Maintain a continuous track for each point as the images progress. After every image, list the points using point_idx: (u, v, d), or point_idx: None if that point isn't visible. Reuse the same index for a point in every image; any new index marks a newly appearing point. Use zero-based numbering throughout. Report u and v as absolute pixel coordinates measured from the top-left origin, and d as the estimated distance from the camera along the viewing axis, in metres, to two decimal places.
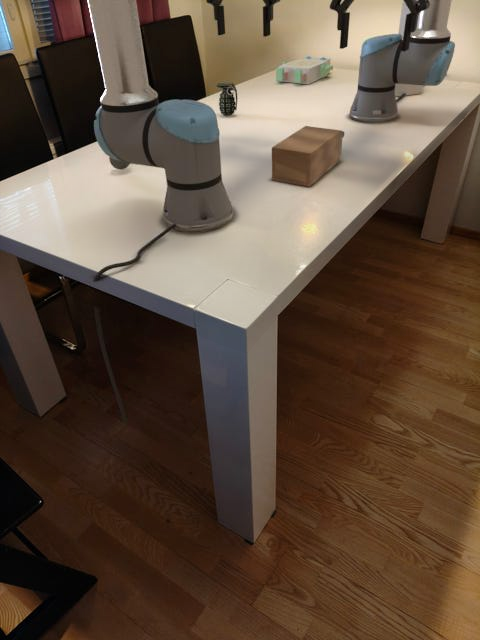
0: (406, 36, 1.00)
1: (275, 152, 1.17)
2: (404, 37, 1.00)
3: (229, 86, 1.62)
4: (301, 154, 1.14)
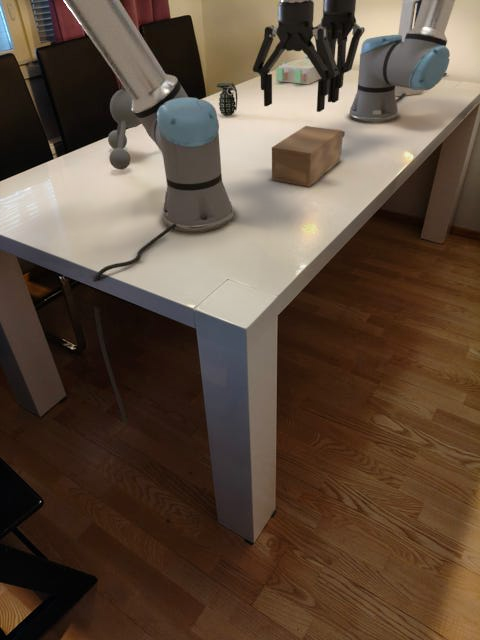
0: None
1: (275, 152, 1.17)
2: None
3: (229, 86, 1.62)
4: (301, 154, 1.14)
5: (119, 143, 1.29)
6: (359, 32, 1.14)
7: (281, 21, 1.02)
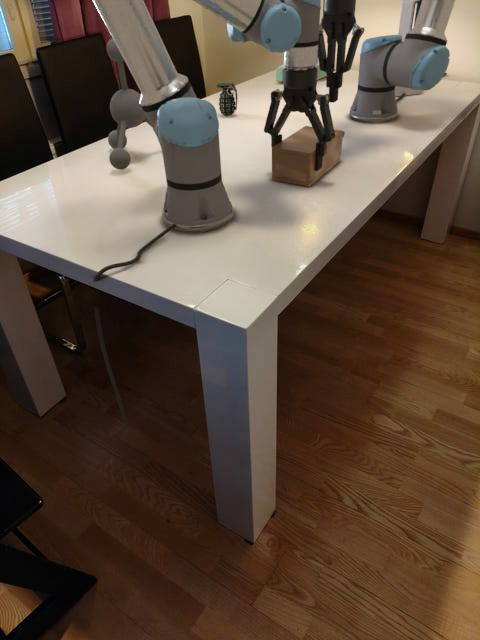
0: None
1: (275, 152, 1.17)
2: None
3: (229, 86, 1.62)
4: (301, 154, 1.14)
5: (119, 143, 1.29)
6: (359, 32, 1.14)
7: (286, 86, 1.08)
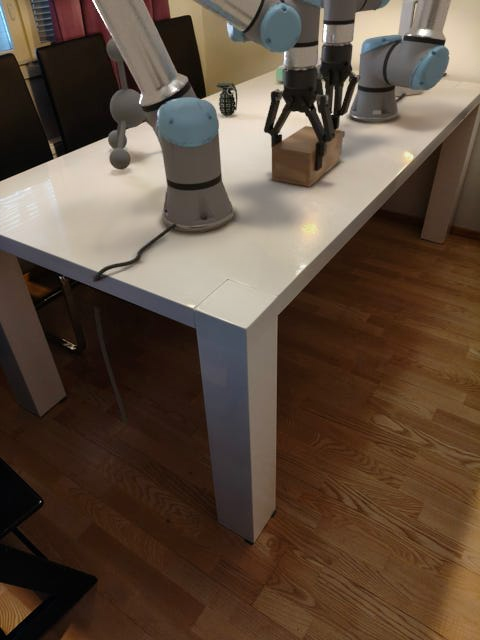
0: None
1: (275, 152, 1.17)
2: None
3: (229, 86, 1.62)
4: (301, 154, 1.14)
5: (119, 143, 1.29)
6: (355, 80, 1.21)
7: (286, 86, 1.08)
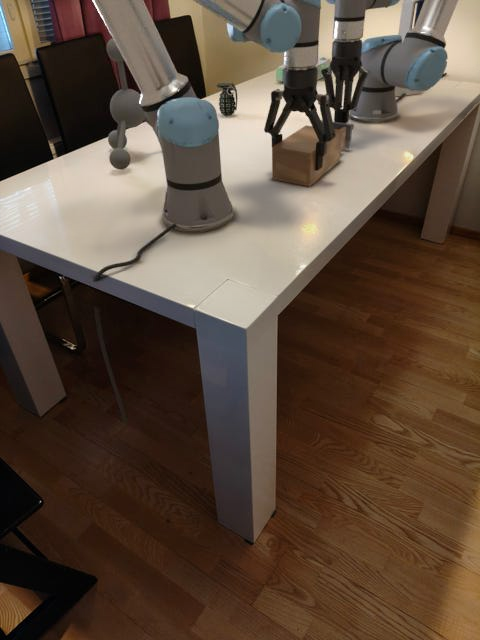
0: None
1: (275, 152, 1.18)
2: None
3: (229, 86, 1.62)
4: (301, 154, 1.14)
5: (119, 143, 1.29)
6: (365, 75, 1.25)
7: (286, 86, 1.08)
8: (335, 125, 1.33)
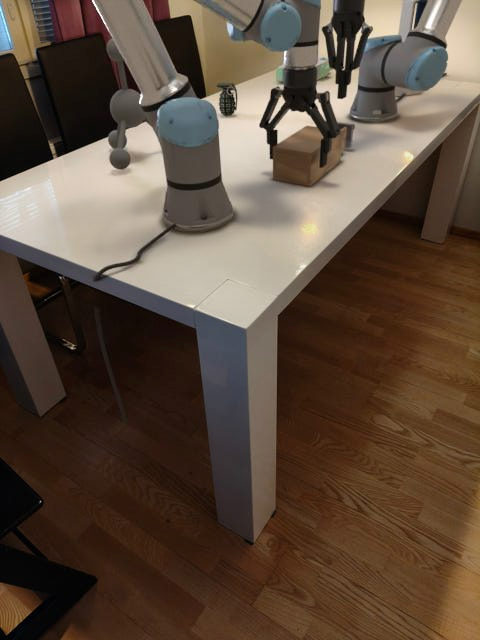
0: None
1: (276, 152, 1.18)
2: None
3: (229, 86, 1.62)
4: (302, 154, 1.14)
5: (119, 143, 1.29)
6: (368, 31, 1.18)
7: (286, 85, 1.08)
8: None
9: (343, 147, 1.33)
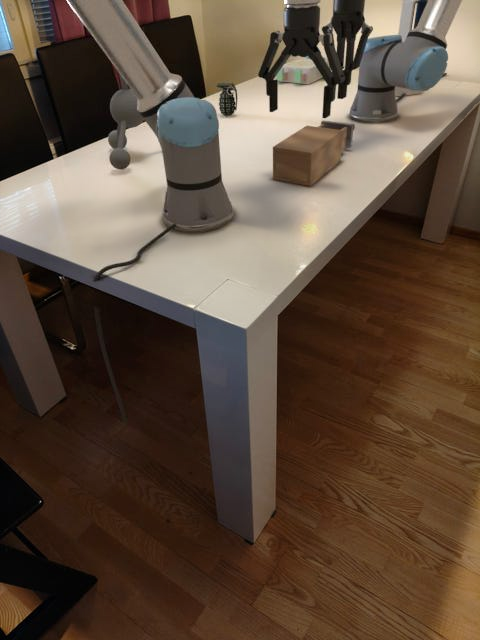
0: None
1: (276, 152, 1.18)
2: None
3: (229, 86, 1.62)
4: (302, 154, 1.14)
5: (119, 143, 1.29)
6: (368, 31, 1.18)
7: (287, 27, 1.01)
8: (336, 125, 1.33)
9: (343, 147, 1.33)
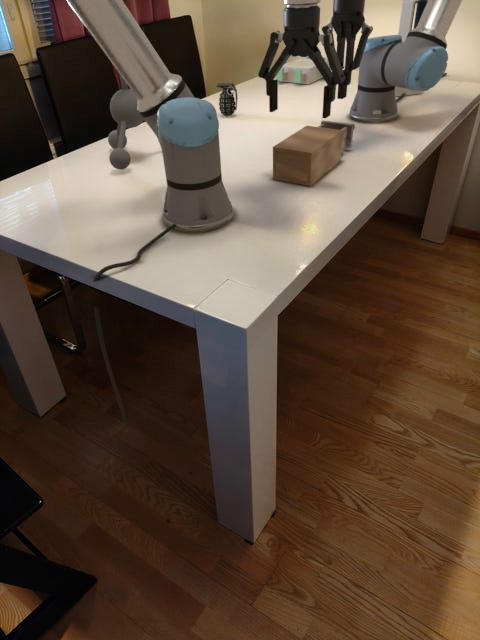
0: None
1: (276, 152, 1.18)
2: None
3: (229, 86, 1.62)
4: (302, 154, 1.14)
5: (119, 143, 1.29)
6: (368, 31, 1.18)
7: (287, 27, 1.01)
8: (336, 125, 1.33)
9: (343, 147, 1.33)
